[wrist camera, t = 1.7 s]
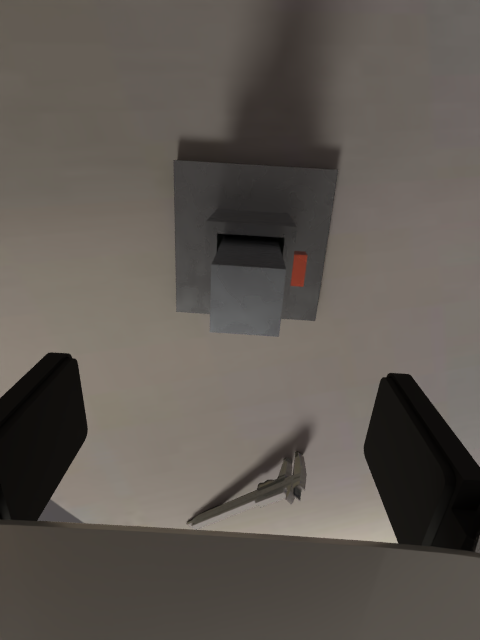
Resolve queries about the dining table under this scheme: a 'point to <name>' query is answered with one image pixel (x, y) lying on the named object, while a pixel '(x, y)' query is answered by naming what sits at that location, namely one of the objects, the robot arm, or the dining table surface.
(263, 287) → the block
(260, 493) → the caliper
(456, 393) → the dining table surface
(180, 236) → the base
